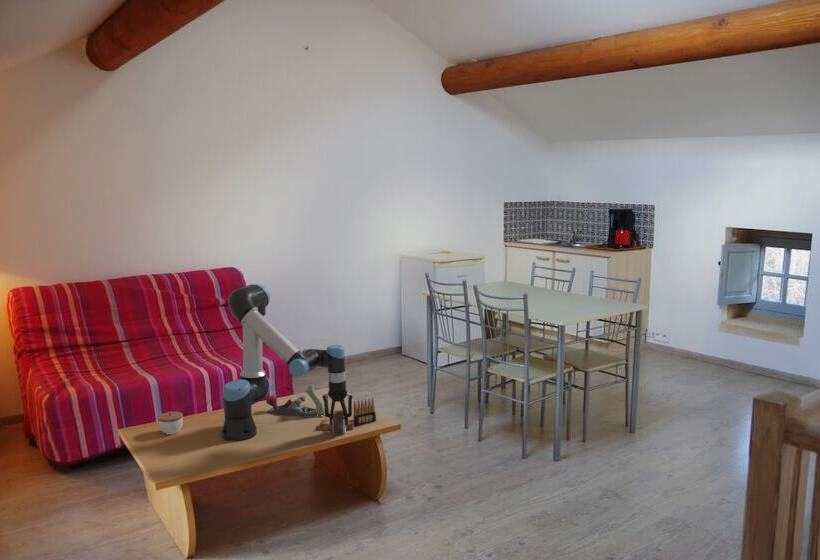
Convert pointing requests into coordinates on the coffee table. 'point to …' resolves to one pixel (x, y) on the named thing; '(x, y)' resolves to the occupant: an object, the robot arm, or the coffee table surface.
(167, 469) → the coffee table surface
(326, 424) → the board
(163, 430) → the lidded jar
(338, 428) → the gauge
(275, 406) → the hand plane
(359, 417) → the ammunition clip
